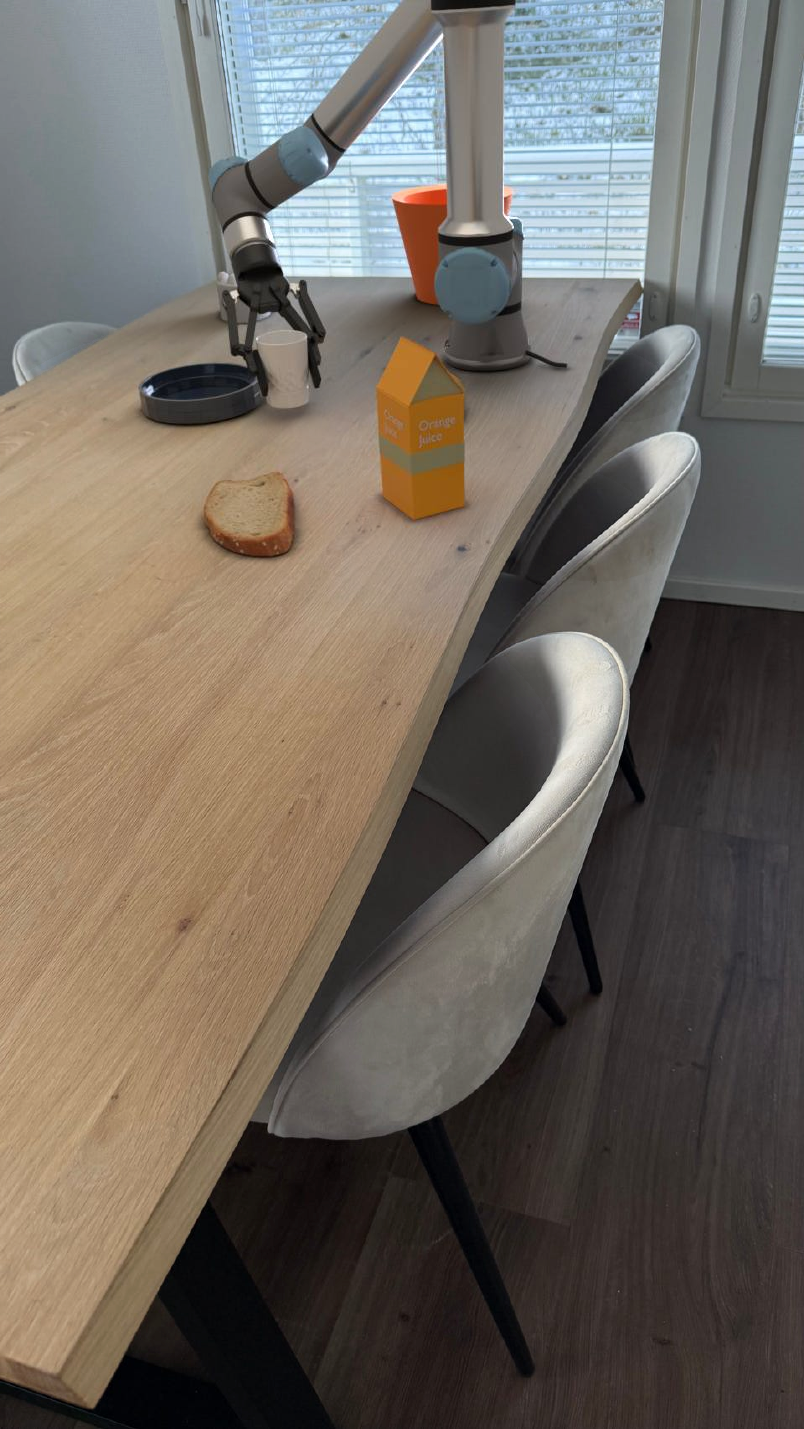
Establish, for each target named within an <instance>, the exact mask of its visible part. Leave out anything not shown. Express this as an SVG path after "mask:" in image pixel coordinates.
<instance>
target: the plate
mask: <svg viewBox="0 0 804 1429" xmlns="http://www.w3.org/2000/svg"><path fill="white" fill-rule="evenodd" d="M137 389H138V393H139V398H140V402H141V408H142V412H143V414H144V415H145V416H146V417H148V418H149V419H151V420H153V421H156V422H162V423H168V424H176V425H177V424H178V425H198V424H200V425H201V424H208V423H214V422H220V421H226V420H229V419H232V418H236V417H238V416H240V415H243V414H246V413H248V412H250V411H251V410H253V409H255V408H257V407H258V406H259V405H260V404H261V402H262V400H263V397H262V394H261V390H260V387H259V383H258V380H257V376H256V375H255V376H251V375H250V374H249V371H248V368H247V365H245V364H240V363H233V362H200V363H199V362H198V363H192V364H185V365H184V364H183V365H179V366H176V367H175V366H174V367H170V368H167V369H165V370H161V371H158V372H156V373H154V374H152V375H149V376H147V377H146V378H144V379H142V381H141V382H140V383H139V385H138V388H137Z"/></svg>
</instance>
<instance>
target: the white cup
mask: <svg viewBox="0 0 804 1429" xmlns="http://www.w3.org/2000/svg"><path fill="white" fill-rule="evenodd" d="M255 344H256V349H258V352H259V356H260V359H261V363H262V366H263V370H264V373H265V376H266V380H267V383H268V387H269V389H268V395H267V397H265V398H266V403H267V405H268V406H270V407H271V408H275V409H293V408H298V407H302V406H305V405H306V404H307V403H309V402H310V391H309V390H310V389H309V386H310V385H309V384H310V371H309V365H308V345H307V335H306V334H305V333H304V332H301V331H295V330H293V329H291V330H290V329H283V330H281V329H280V330H272V331H268V332H264V333H261V334H259V335H258V336H257V337H255Z"/></svg>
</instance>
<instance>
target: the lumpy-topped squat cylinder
mask: <svg viewBox="0 0 804 1429" xmlns="http://www.w3.org/2000/svg"><path fill="white" fill-rule="evenodd" d="M215 285H216V289H217V290H216V291H217V296H218V303H219V310H220V317H221V319H222V320H223V321H225V322H227V313H226V311H225V309H224V307H223V305H222V303H221V301H222V292H223V290H228V291H229V292H231V291H234V290H237V283H236V279H235V276H234V272H233V269H232V268H230V269H228V271H227V272H225V271H220V272H219V273H218V274H217V276H216V284H215ZM235 308H236V317H237V324H248V319H249V312H250V308H249V307H248V306H247V305H246V304H244V303H243V302H242V301H241V300H239V299H237V305H236V307H235ZM271 313H272V312H267V313H265V314H259V313H258V314H257V320H256V322H258V321H262V320H264V319H266V318H268V317H269V316H270V315H271Z"/></svg>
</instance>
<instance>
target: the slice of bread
mask: <svg viewBox="0 0 804 1429" xmlns="http://www.w3.org/2000/svg"><path fill="white" fill-rule="evenodd" d="M203 512H204V514H203V515H204V524H205V526H206V527H207V528H208V530H209V535H210V536H211V537H212V539H213V540H214V541H215V542H216V543H218V544H219V545H221V546H222V547H223V548H224V549H226V550H229V551H231V552H234V553H237V554H240V555H246V556H252V557H274V556H278V555H282V554H285V553H287V552H288V551H289V550H290V549H291V547H292V542H293V538H294V535H295V500H294V492H293V490H292V488H291V487H290V485H289V482H288V480H287V479H286V478H285V476H284V474H282V473H281V472H280V471H278V470H275V471H272V472H271V471H270V472H269V473H266V474H261V475H259V476H255V477H254V478H250V479H245V480H232V479H223V480H222V479H221V480H219V481H217V482H216V483H215V484H214V485H213V487H211V490H210V491H209V493H208V495H207V496H206V499H205V503H204V506H203Z"/></svg>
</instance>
